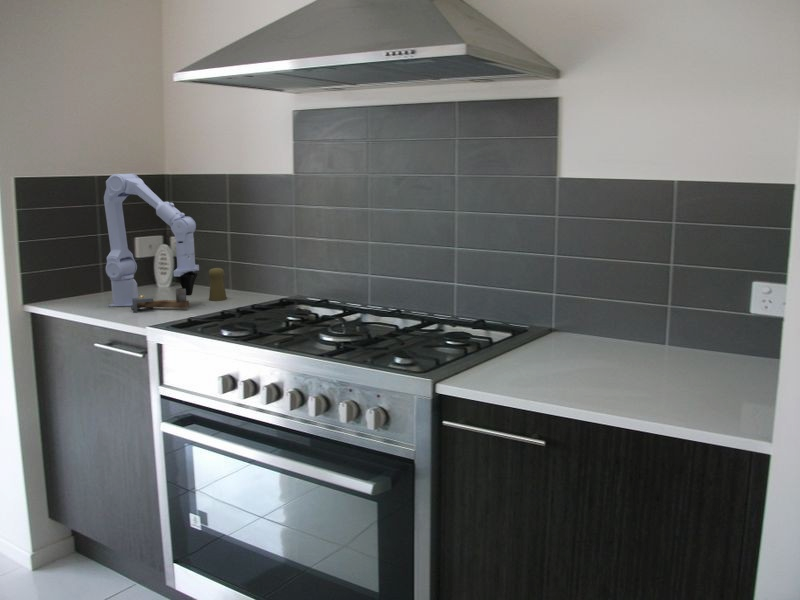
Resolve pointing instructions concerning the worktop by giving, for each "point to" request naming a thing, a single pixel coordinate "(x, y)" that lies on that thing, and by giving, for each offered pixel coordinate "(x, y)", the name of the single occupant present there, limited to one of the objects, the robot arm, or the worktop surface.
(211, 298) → the cork
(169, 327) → the worktop surface
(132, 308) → the pintle base
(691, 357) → the worktop surface
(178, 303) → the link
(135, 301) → the keeper
